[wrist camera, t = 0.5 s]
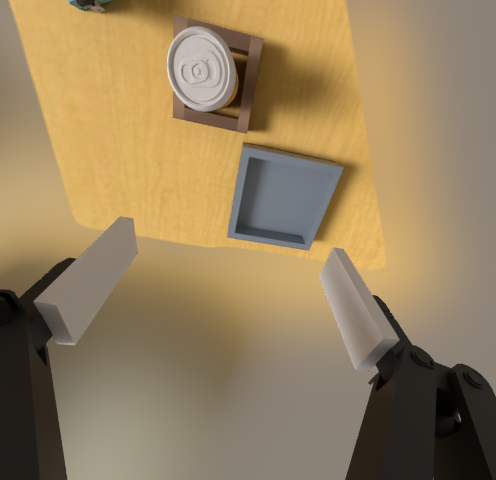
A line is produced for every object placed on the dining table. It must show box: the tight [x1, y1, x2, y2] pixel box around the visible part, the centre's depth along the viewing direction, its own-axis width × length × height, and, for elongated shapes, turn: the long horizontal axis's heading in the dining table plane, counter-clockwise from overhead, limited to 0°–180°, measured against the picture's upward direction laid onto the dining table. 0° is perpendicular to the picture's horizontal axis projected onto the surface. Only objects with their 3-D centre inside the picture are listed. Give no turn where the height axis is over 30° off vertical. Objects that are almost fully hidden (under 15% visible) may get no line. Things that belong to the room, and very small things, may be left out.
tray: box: [227, 142, 344, 251], centre depth 39 cm, size 16×16×4 cm
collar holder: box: [173, 15, 263, 134], centre depth 30 cm, size 10×10×4 cm
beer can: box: [167, 26, 239, 112], centre depth 25 cm, size 6×6×15 cm
